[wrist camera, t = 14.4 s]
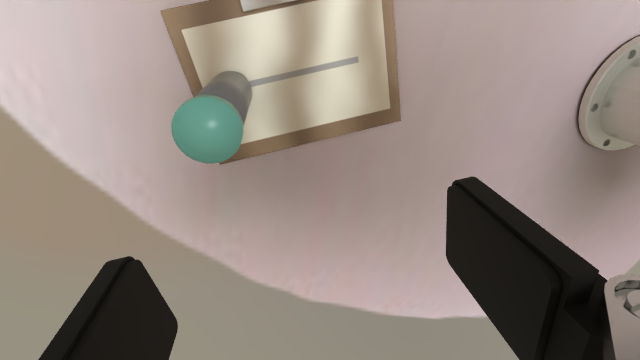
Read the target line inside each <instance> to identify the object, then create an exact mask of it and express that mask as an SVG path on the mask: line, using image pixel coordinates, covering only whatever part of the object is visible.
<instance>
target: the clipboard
mask: <svg viewBox="0 0 640 360" xmlns="http://www.w3.org/2000/svg"><path fill="white" fill-rule="evenodd" d="M160 12H161V14H162V17H163V19H164V22H165V25H166V27H167V30H168V32H169V35H170V37H171V40H172V43H173V45H174V48H175V50H176V53H177V55H178V58H179V61H180V63H181V66H182V68H183V71H184V73H185V76H186V79H187V81H188V84H189V86H190V89H191V91H192V94H193V97H195V96H196V95H197V94H198V93H199V92H200V91H201V90H202V89H203V88H204V87H205V86H206V85H207V84H208V83H209V82H210V81H211V80H212V79H213V78H214V77H215V76H216V75H218V74H219V73H221V72H224V71H236V72H239V73H241V74H243V75H244V76H245V77H246V78H247V80H248V82H249V83H250V85H251V88H252V99H251V102H250V106H249V109H248V113H247V116H246V120H245V123H244V133H243V137H242V141H241V144H240V147H239V149H238V150H237V152H236V153H235V154H234V155H233V156H232V157H230V158H229V159H227V160H225V161H223V162H219V163H220V164H224V163H228V162H232V161H236V160H241V159H245V158H249V157H253V156H257V155H261V154H265V153H269V152H274V151H278V150H282V149H286V148H290V147H294V146H298V145H302V144H306V143H311V142H315V141H319V140H323V139H327V138H331V137H335V136H339V135H344V134H348V133H352V132H356V131H360V130H364V129H368V128H372V127H376V126H381V125H385V124H389V123H393V122H397V121H401V115H400V100H399V85H398V69H397V54H396V39H395V23H394V8H393V0H209V1H204V2H199V3H195V4H190V5H185V6H180V7H176V8H171V9H166V10H162V11H160Z"/></svg>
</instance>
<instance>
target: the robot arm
mask: <svg viewBox="0 0 640 360" xmlns="http://www.w3.org/2000/svg"><path fill="white" fill-rule="evenodd" d="M579 128H580V131H581V134H582V136H583V137H584V139H585V140H586V141H587V142H588V143H590V144H591V145H593V146H595V147H598V148H600V149H603V150H610V151H614V150H622V149H626V148H629V147H632V146H634V145H638V146H640V36H638V37H636V38H634V39H632V40H631V41H629V42H628V43H626V44H624V45H623V46H622V47H621V48H619V49H618V50H617V51H616V52H615V53H613V54H612V55H611V56H610V57H609V58H608V59H607V60H606V61H605V62H604V64H603V65H602V66H601V67H600V68H599V70H598V71H597V72H596V74H595V75H594V76H593V78H592V80H591V82H590V83H589V85H588V87H587V89H586V91H585V93H584V96H583V98H582V102H581V105H580V109H579ZM446 257H447V260H448V262H449V264H450V266H451V267H452V269H453V270H454V271H455V273H456V274H457V275H458V277H459V278H460V279H461V281H462V282H463V283H464V285H465V286H466V288H467V289H468V290H469V292H470V293H471V294H472V296H473V297H474V298H475V300H476V301H477V303H478V304H479V305H480V307H481V308H482V309H483V311H484V312H485V313H486V315H487V316H488V317H489V319H490V320H491V322H492V323H493V324H494V326H495V327H496V328H497V330H498V331H499V332H500V334H501V335H502V336H503V338H504V339H505V341H506V342H507V343H508V345H509V346H510V347H511V349H512V350H513V351H514V353H515V354H516V356H517V357H518V358H519V360H640V276H639V275H618V276H615V277H612V278H610V279H609V280H608V281H607V280H606V279H605V278H604V277H602V276H601V275H600V274H598V273H599V270H598V269H596V268H595V267H594V266H592V265H591V264H590V263H588V262H587V261H586V260H584V259H583V258H582V257H581V256H579V255H578V254H577V253H575V252H574V251H573V250H571V249H570V248H569V247H567V246H566V245H565V244H563V243H562V242H561V241H559V240H558V239H557V238H555V237H554V236H553V235H551V234H550V233H549V232H547V231H546V230H545V229H544V228H542V227H541V226H540V225H538V224H537V223H536V222H534V221H533V220H532V219H530V218H529V217H528V216H526V215H525V214H524V213H522V212H521V211H520V210H518V209H517V208H516V207H514V206H513V205H512V204H510V203H509V202H508V201H506V200H505V199H504V198H503V197H501V196H500V195H499V194H497V193H496V192H495V191H493V190H492V189H491V188H489V187H488V186H487V185H485V184H484V183H483V182H481V181H480V180H479V179H477V178H476V177H468V178H464V179H459V180H455V181H454V182H453V183H452V186H450V187H448V190H447V228H446ZM177 328H178V325H177V320H176V318H175V316H174V314H173V313H172V311H171V310H170V308H169V306H168V305H167V303H166V302H165V300H164V298H163V297H162V295H161V293H160V292H159V290H158V288H157V287H156V285H155V284H154V282H153V280H152V279H151V277H150V276H149V274H148V272H147V270H146V269H145V267H144V266H143V264H142V263H141V261H139V260H135V259H134V258H133V257H129V256H128V257H124V258H120V259H116V260H111V261H108V262H106V263H105V265H104V266H103V267H102V269H101V270H100V272H99V273H98V275H97V276H96V277H95V279H94V281H93V282H92V283H91V285H90V286H89V288H88V289H87V290H86V292H85V293H84V295H83V296H82V298H81V299H80V301H79V302H78V303H77V305H76V306H75V308H74V309H73V311H72V312H71V314H70V315H69V316H68V318H67V320H66V321H65V322H64V324H63V325H62V327H61V328H60V329H59V331H58V332H57V334H56V335H55V337H54V338H53V340H52V341H51V342H50V344H49V345H48V347H47V348H46V350H45V351H44V353H43V354H42V355H41V357H40V358H39V360H169V357H170V353H171V350H172V347H173V343H174V340H175V337H176V333H177Z"/></svg>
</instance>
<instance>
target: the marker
mask: <svg viewBox="0 0 640 360" xmlns="http://www.w3.org/2000/svg"><path fill="white" fill-rule="evenodd" d="M251 99H252V88H251V85H250V83H249V82H248V80H247V78H246V77H245V76H244V75H243V74H241V73H239V72H236V71H224V72H221V73H219V74H218V75H216V76H215V77H214V78H213V79H212V80H211V81H210V82H209V83H208V84H207V85H206V86H205V87H204V88H203V89H202V90H201V91H200V92H199V93H198V94H197V95H196V96H195V97H193V98H191V99H189V100H187V101H186V102H185V103H184V104H183V105H182V106H181V107H180V108H179V109H178V110H177V111H176V113H175V115H174V117H173V120H172V135H173V138H174V141H175V142H176V144H177V146H178V147H179V148H180V150H181V151H182V152H183V153H185V154H186V155H187V156H188V157H190V158H192V159H194V160H196V161H199V162H203V163H219V162H223V161H225V160H227V159H229V158H230V157H232V156H233V155H234V154H235V153H236V152H237V150H238V149H239V147H240V144H241V141H242V137H243V133H244V123H245V120H246V116H247V113H248V109H249V106H250V102H251Z"/></svg>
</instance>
